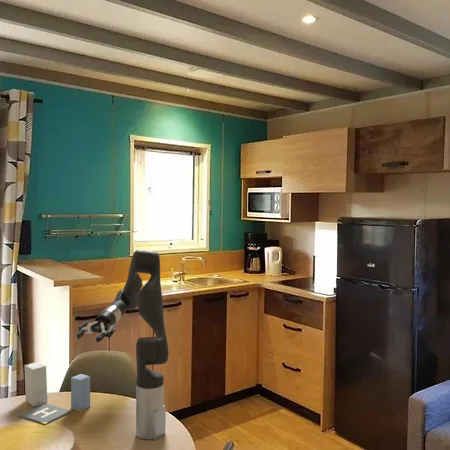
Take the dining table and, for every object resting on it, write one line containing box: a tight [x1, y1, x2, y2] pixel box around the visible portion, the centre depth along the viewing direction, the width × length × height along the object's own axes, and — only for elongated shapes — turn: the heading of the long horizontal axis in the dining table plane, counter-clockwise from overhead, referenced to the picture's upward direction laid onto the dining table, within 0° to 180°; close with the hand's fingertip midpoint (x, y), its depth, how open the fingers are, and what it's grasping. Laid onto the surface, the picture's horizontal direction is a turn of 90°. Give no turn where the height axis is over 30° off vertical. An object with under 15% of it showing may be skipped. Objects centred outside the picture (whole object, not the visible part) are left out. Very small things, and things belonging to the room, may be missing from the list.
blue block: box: [70, 373, 91, 412], centre depth 183 cm, size 5×5×12 cm
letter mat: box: [18, 403, 72, 423], centre depth 177 cm, size 14×12×1 cm
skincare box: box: [24, 361, 48, 407], centre depth 188 cm, size 8×6×15 cm
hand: (87, 338), depth 185 cm, fingers open, 8 cm apart
